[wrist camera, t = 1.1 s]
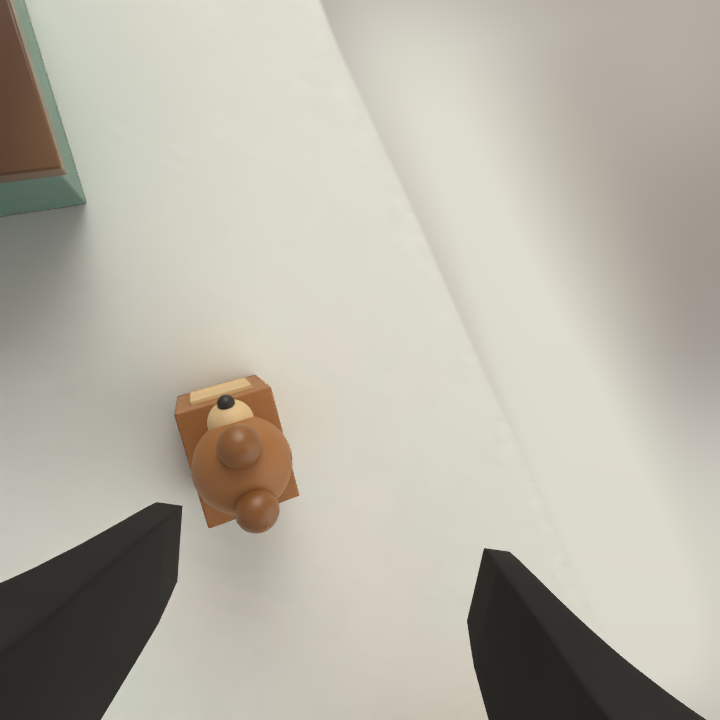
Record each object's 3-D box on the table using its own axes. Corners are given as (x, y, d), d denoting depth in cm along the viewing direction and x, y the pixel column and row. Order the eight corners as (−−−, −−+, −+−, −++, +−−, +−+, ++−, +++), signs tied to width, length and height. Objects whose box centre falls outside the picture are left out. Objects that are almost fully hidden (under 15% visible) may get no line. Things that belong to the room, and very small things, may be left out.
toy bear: (205, 490, 22) (213, 583, 14) (174, 386, 21) (165, 424, 13) (280, 464, 23) (325, 537, 15) (253, 365, 22) (287, 389, 14)
